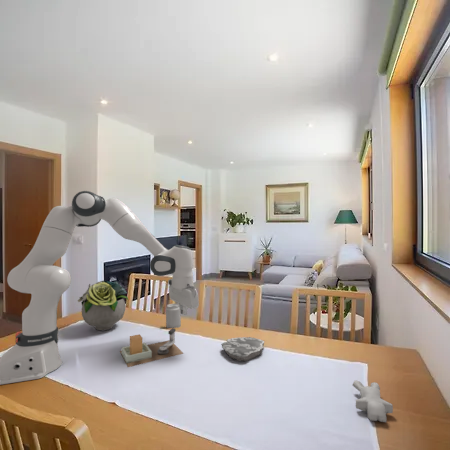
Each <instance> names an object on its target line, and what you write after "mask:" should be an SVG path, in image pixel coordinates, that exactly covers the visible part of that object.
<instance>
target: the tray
mask: <svg viewBox="0 0 450 450" xmlns="http://www.w3.org/2000/svg"><path fill="white" fill-rule="evenodd" d="M147 345H148V344H147V343H146V342H142V353H137V354H133V355H130V345H128V346H122V347H121V351H122V355H121V357H122V356H123V357H122V359H123V358H124V359H123V360H125V361H124V363H125V362H126V363H125V365H126V364H127V363H131V362H135V361H139V360H143V359H147V358H152V351H151V350H150V348H149V347H148V346H147Z"/></svg>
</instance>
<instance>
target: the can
mask: <svg viewBox="0 0 450 450" xmlns="http://www.w3.org/2000/svg"><path fill="white" fill-rule="evenodd" d="M181 316H182V314H181V313H180V308H179V303H170V304H167V305H166V308H165V328H166V329H172V328H174V329H177V328H178V329H179V328H181V326H182V325H181V324H182V323H181V322H182V320H181V319H182V318H181Z"/></svg>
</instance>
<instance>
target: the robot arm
mask: <svg viewBox="0 0 450 450" xmlns="http://www.w3.org/2000/svg"><path fill="white" fill-rule="evenodd" d="M102 220H103V221H104V222H106V223H108V225H109V226H111V228H112V229H113V230H114V232H116V233H117V235H119V236H120V237H121V238H123V239H125V240H129V241H133V242H137V243H139V244H141V245H142V246H143V247H145V249H146V250H148V251H149V253H151V255H152V256H153V257H152V259H150V262H149V268H150V271H151V272H152V274H154V275H155V276H158V277H163V276H167V275H172V278H171V279H168V281H167V285H168V293H169V294H168V295H169V300H171V301H172V302H175V303H176V304H179V308H180V313H181V315H183V316H186V315H188V311H189V310H188V309H190V310H194V309H197V308H199V305H200V303H199V302H200V301H199V300H200V299H199V294H198V290H197V289H196V287H195V286H194V273H193V268H194V258H193V251H192V249H191V248H190V247H189V246H187V245H181V244H177V245H174V246H172V248H171V247H170V249H168V248H167V247H165V246H164V244H162V243H161V242H160V241H159V239H157V238H156V237H155V236H154V235H153V234H152V233H151V232H150V231H149V230H148V228H147V227H146V226H145V224H144V223H143V222H142V221H141V220H140V218H139V217H138V216H137V214H136V213H135V212H134V211H133V210H132V209H131V208H130V207H129V206H127V204H125V203H124V202H123V201H122V200H120V199H119V198H116V197H111V198H108V199H107V200H105V198H104V196H101V195H98V194H96V193H94V192H91V191H89V190H82V191H79V192H77V193H76V194H75V195H74V196H73V197H72V201H71V206H65V205H57V206H54V207H53V208H52V209H51V210H50V211H49V213H48V215H47V216H46V218H45V220H44V222H43V224H42V226H41V229H40V231H39V234H38V235H37V237H36V241H35V243H34V244H33V247H32V248H31V250H30V251H29V253H28V254H27V255H26V256H25V258H24V259H23V260H22V261H21V262H20V263H19V264H18V265H17V266H15V267H13V268H12V269H11V270H10V271H9V273H8V275H7V285H8V287H10V289H12V290H15V291H17V292H18V293H22V294H31V296H30V297H31V298H30V302H29V304H28V306H27V307H26V308H24V310H23V311H22V314H21V324H22V325H21V326H22V327H21V328H22V329H21V331H17V332H16V333H15V335H14V336H15V344H14V345H13V346H12V347H10V349H8V350H7V351H6V352H4V353H3V354H2V355H1V356H0V385H8V384H12V383H21V382H26V381H31V380H38V379H41V378H44V377H45V376H46V375H47V374H50V373H51V372H53V371H55V370H57V369H58V368H60V367H61V366H62V364H63V361H62V359H61V354H60V351H59V345H58V344H59V335H60V334H59V327H58V325H57V324H58V323H57V321H58V319H57V314H58V306H59V301H60V299H61V297H62V295H63V294H64V293H65V292H66V291H67V290H68V289H69V288H70V286H71V282H72V278H71V273H70V272H69V270H67V269H65V268H64V267H61V266H57V265H54V264H55V263H56V262H57V261H58V260H59V259H60V258H62V257H63V256H65V254H66V253H67V251H68V247H69V244H70V242H71V239H72V236H73V233H74V230H75V229H76V227H81V228H83V227H85V228H86V227H88V228H89V227H95V226H96V225H98V224H100V222H101V221H102Z"/></svg>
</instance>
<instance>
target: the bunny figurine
mask: <svg viewBox="0 0 450 450" xmlns="http://www.w3.org/2000/svg"><path fill="white" fill-rule="evenodd" d="M352 386H353V388H355V389H356V390H357V391H358V392H359V394H360V395H359V396H360V398H357V399H355V409H357V410H360V411H363V412H365V413H367V419H368V420H370V421H373V422H378V421H379V422H381V423H387V414H393V413H394V407H393V403H390V402H388V401H387V400H384V399H383V398H381V387H380V385H379V383H377V382H371V383H370V385H369V386H365V385H364V384H363V383H362V382H361V381H358V380H354V381H353V383H352Z"/></svg>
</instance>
